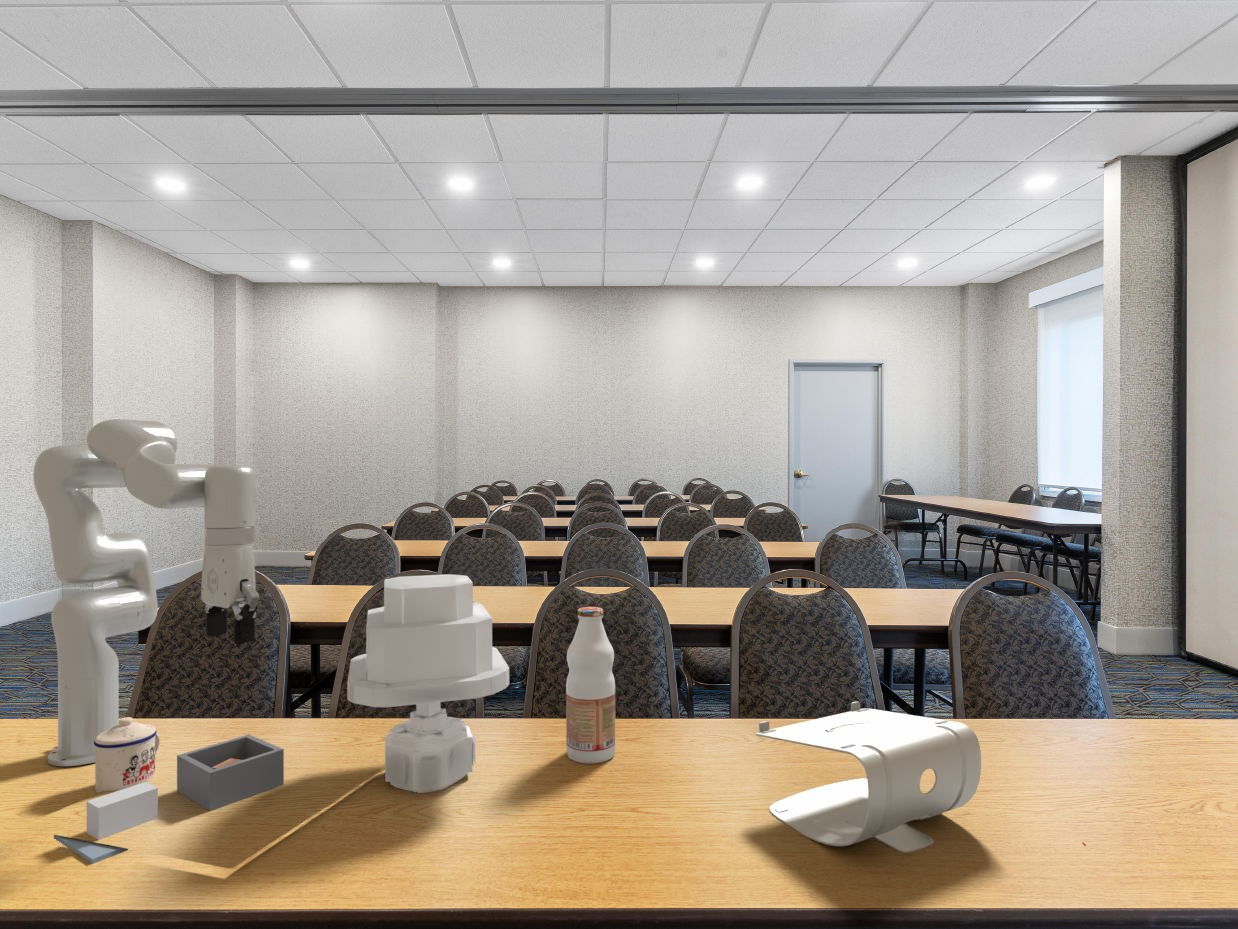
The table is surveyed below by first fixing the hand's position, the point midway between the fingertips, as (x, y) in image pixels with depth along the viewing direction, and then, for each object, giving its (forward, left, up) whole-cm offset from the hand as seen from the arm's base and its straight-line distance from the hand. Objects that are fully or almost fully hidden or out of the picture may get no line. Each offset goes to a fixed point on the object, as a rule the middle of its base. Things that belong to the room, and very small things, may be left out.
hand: (230, 638), depth 123 cm
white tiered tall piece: (+22, +24, -26) cm, 42 cm away
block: (0, 0, -25) cm, 25 cm away
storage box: (0, 0, -26) cm, 26 cm away
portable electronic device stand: (+89, +55, -27) cm, 108 cm away
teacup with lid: (-19, -8, -26) cm, 34 cm away
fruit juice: (+39, +49, -26) cm, 68 cm away
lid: (0, -16, -27) cm, 31 cm away
